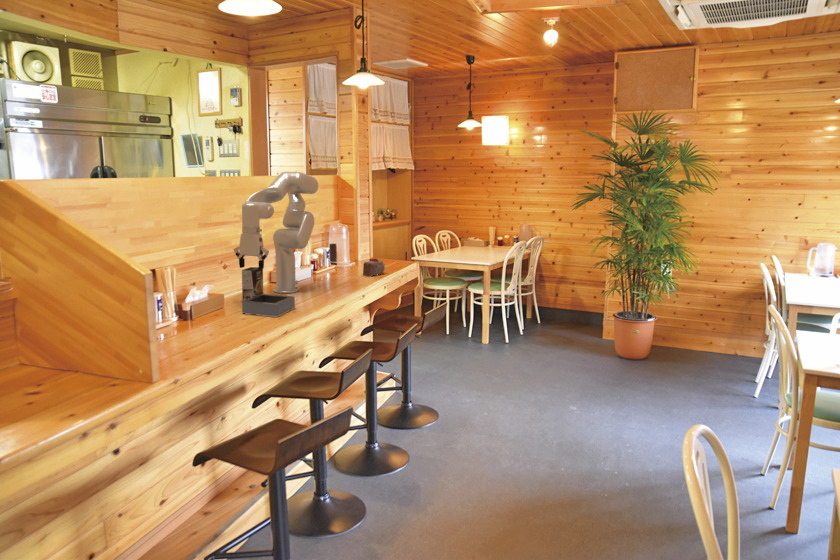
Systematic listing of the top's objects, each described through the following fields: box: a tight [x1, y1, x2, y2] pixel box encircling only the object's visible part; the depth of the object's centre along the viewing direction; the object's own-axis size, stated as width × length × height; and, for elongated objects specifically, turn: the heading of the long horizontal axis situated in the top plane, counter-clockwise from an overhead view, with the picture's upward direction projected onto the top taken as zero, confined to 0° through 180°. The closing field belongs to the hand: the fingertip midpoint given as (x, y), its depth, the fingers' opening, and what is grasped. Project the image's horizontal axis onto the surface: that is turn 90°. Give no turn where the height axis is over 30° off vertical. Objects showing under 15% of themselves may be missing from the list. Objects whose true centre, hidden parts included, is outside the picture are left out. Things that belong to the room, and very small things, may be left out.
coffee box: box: [241, 266, 264, 301], centre depth 270 cm, size 9×6×16 cm
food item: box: [362, 258, 386, 277], centre depth 345 cm, size 14×8×10 cm, turn 152°
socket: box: [241, 293, 296, 318], centre depth 257 cm, size 16×16×5 cm
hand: (251, 268), depth 267 cm, fingers open, 9 cm apart
